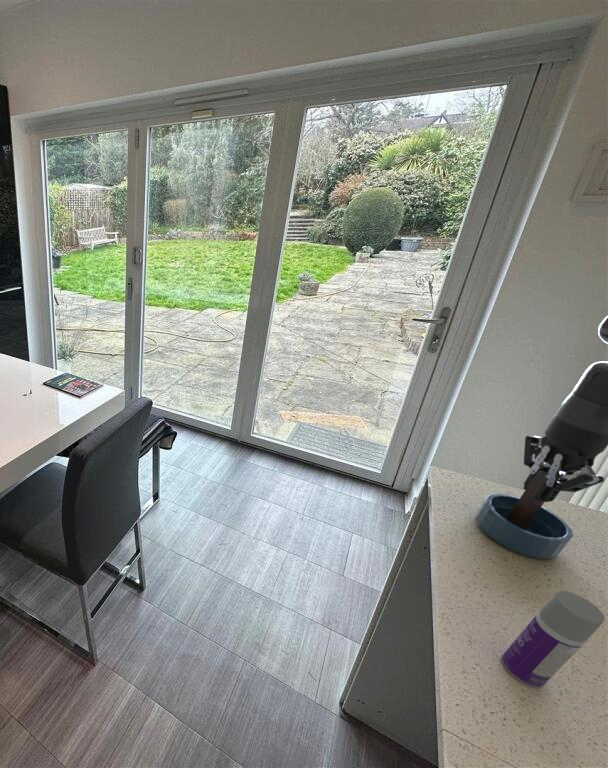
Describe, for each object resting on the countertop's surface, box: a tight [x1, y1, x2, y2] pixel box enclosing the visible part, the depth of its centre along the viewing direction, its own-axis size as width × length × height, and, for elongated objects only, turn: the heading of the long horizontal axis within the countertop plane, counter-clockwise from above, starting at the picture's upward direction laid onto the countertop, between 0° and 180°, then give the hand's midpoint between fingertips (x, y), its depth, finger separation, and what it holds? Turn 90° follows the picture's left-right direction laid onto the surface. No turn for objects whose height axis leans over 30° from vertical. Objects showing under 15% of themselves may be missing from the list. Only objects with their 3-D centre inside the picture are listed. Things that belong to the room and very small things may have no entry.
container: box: [500, 590, 606, 689], centre depth 57 cm, size 5×5×15 cm
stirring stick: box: [506, 471, 560, 530], centre depth 80 cm, size 2×2×13 cm
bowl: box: [475, 492, 574, 560], centre depth 82 cm, size 13×13×6 cm
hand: (535, 495), depth 80 cm, fingers closed on stirring stick, 2 cm apart
